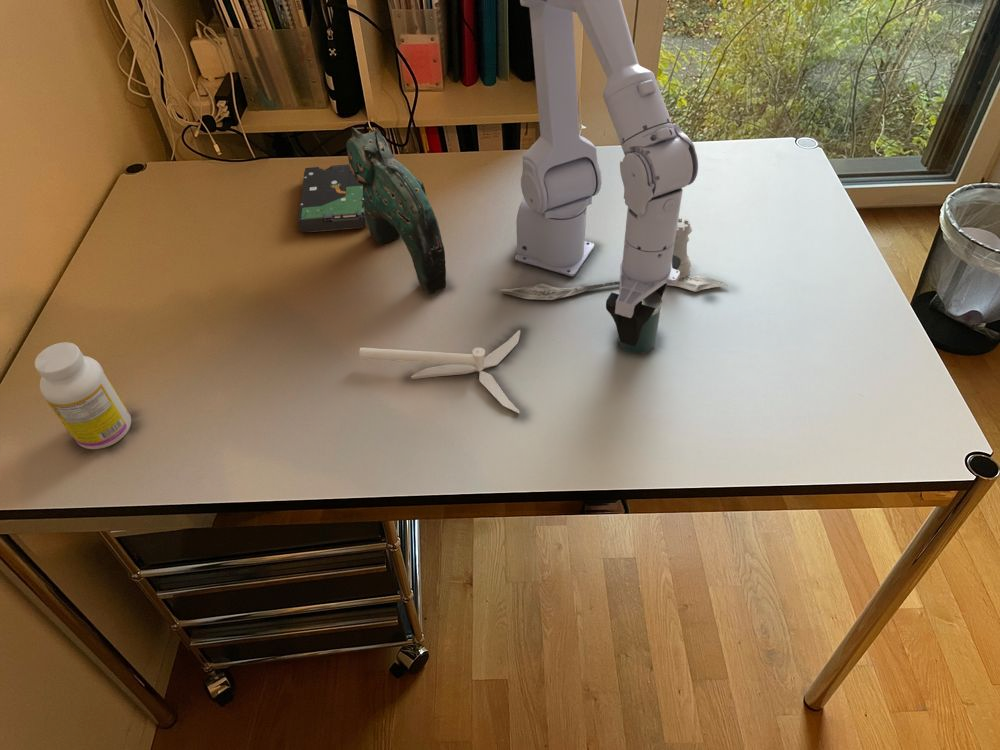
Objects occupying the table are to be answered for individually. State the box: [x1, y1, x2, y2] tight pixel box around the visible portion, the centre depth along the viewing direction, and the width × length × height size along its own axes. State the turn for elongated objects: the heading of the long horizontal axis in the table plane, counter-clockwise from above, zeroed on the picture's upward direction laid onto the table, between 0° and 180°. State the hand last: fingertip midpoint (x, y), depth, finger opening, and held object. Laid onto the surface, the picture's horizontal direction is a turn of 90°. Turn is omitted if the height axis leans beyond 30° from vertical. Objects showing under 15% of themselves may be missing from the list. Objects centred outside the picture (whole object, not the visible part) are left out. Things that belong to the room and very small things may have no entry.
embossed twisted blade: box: [498, 274, 730, 301], centre depth 108 cm, size 32×1×5 cm
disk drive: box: [297, 164, 368, 233], centre depth 125 cm, size 10×3×15 cm
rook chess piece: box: [673, 217, 693, 279], centre depth 108 cm, size 4×4×8 cm
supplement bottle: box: [34, 341, 132, 450], centre depth 90 cm, size 7×7×13 cm
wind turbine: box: [358, 330, 522, 414], centre depth 99 cm, size 4×14×21 cm
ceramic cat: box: [345, 127, 447, 295], centre depth 108 cm, size 20×6×20 cm, turn 33°
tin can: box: [617, 291, 663, 354], centre depth 99 cm, size 5×5×7 cm
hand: (639, 323), depth 100 cm, fingers open, 7 cm apart
